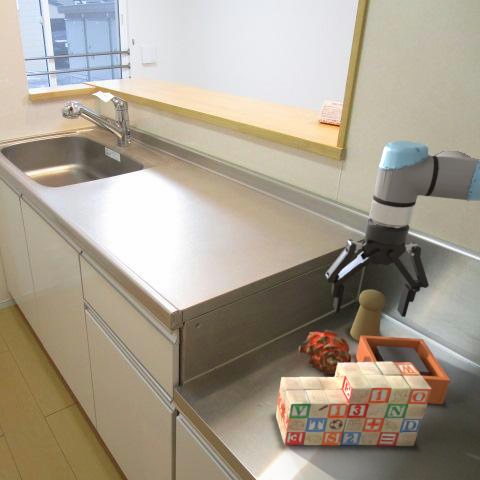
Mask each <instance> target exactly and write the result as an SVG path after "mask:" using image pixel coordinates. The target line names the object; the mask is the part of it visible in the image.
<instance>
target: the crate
mask: <svg viewBox="0 0 480 480" xmlns="http://www.w3.org/2000/svg"><path fill="white" fill-rule="evenodd" d="M377 346H388V347H404V348H414V349H415V351H416V352H417V354H418V355H419V357H420V359H421V360H422V362H423V363H424V365H425V367H426V368H427V370H428V371H429V373H428V376H422V377H423V378H424V380H425V381H426V382H427V384H428V385H429V386H430V388H431V392H430V395H429V398H428V401H427V404H434V405H444V402H445V398H446V395H447V392H448V389H449V386H450V384H451V379H450V377H449V376H448V375H447V373H446V371H445V370H444V369H443V367H442V365H441V364H440V363H439V361H438V359H437V358H436V357H435V355H434V354H433V352H432V350H431V349H430V347H429V346H428V345H427V343H426V341H425V340H424V339H423V338H413V337H412V338H410V337H395V336H381V335H380V336H362V335H361V336H360V341H358V346H357V350H356V355H355V358H356V360H357V362H374V363H375V362H377V360H376V358H375V352H376V348H377Z"/></svg>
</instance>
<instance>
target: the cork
mask: <svg viewBox="0 0 480 480" xmlns="http://www.w3.org/2000/svg"><path fill="white" fill-rule="evenodd" d="M358 297H359V298H358V302H359V307H358V310H357V312H356V315H355V318H354V320H353V323H352V326H351V328H350V332H349V334H350V336H351V337H352V338H353V339H354V340H356V341H358V342H359V341H360V336H361V335H362V336H380V337H381V335H380V334H381V316H382V310H383V308H384V307H385V306H386V297H385V295H384V294H383V292H381V291H378V290H376V289H365V290H363V291H362V292H361V293H360V294H359V296H358Z"/></svg>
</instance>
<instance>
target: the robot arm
mask: <svg viewBox="0 0 480 480" xmlns="http://www.w3.org/2000/svg"><path fill="white" fill-rule="evenodd" d="M426 145H427V144H425V143H421V142H416V141H410V140H409V141H408V140H396V141H395V140H394V141H391V142H388V143H386V145H385V146H384V148H383V151H382V154H381V157H380V163H379V164H378V170H377V175H376V180H375V186H374V190H373V196H372V201H371V204H370V205H371V206H370V211H369V215H368V216H369V219H368V220H367V223H366V230H365V233H364V239H363V240H362V242H359V241H354V240H353V239H351V238H349V239H348V240H346V244H345V247H344V249H343V250H342V252H341V253H340V254H339V255H338V257H336V259H335V260H334V262H333V263H332V264H331V266H330V267H329V268H328V269H327V271H326V272H325V273H324V276H325V277H324V278H325V279H326V281H327V283H331V284H332V285H331V291H330V292H331V293H330V294H331V296H332V298H333V304H332V307H333V310H334V312H335V313H336V314H337V313H340V312H341V306H342V302H343V297H344V292H345V284H344V283H345V282H346V281H348V280H349V279H350V278H351V277H353V276H354V275H356V274H357V273H359V271H360V270H362V269H363V268H364V267H368V266H369V265H370V264H372V265H374V266H375V265H376V266H377V265H384V266H390V265H392V264H394V265H395V266H396V268H397V269H398V271H399V273H401V275H402V277H403V278H404V279H405V281H406V282H407V283H403V285H402V289H401V293H400V297H399V301H398V305H397V309H396V310H397V312H398V313H399V315H400V316H401V317H402V318H406V316H407V312H408V308H409V305H410V303H413V302H414V301H415V298H416V295H417V293H419V292H420V291H421V289H422V288H424V289H427V288H428V287H429V286H430V284H429V281H428V278H427V275H426V272H425V268H424V265H423V262H422V259H421V254H422V248H421V247H420V245H418V243H416V242H415V241H412V242H410V244H406V242H407V239H408V236H409V231H410V224H411V223H412V220H413V215H414V212H415V211H414V210H415V207H416V203H417V199H418V196H420V197H421V196H423V197H432V198H443V199H453V200H462V201H467V202H470V201H473V202H474V201H475V202H479V201H480V159H475V158H471V157H470V156H468V155H466V154H465V153H462V152H459V151H442V152H440V153H438V154H436V155H434V156H432V155H429V153H428V152H429V148H428V147H427V146H426ZM359 250H361V251H362V252H360V253H359V254H358V255H357V257H356V258H355V259H353V260H352V261H351V259H352V258H353V257H354V255H355V254H357V253H358V251H359ZM405 253H407V254H408V255H409V257H410V260H411V264H412V267H413V270H414V274H415V277H416V279H414V278H413V276H412V275H411V273H410V272H409V271H408V269H407V268H406V266H405V265H404V264H403V262H402V261H401V259H400V257H402V256H403V255H404V254H405ZM350 261H351V262H350Z"/></svg>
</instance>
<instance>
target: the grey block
mask: <svg viewBox="0 0 480 480" xmlns="http://www.w3.org/2000/svg"><path fill="white" fill-rule="evenodd" d="M375 358H376V360H377V362H393V363H398V362H400V363H412V364H413V365H414V367H415V368H416V369H417V371H418V372H419V373H420V376H428V373H429V371H428V370H427V368H426V367H425V365H424V363H423V362H422V360H421V359H420V357H419V355H418V354H417V352H416V351H415V349H414V348H404V347H388V346H377V348H376V352H375Z"/></svg>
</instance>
